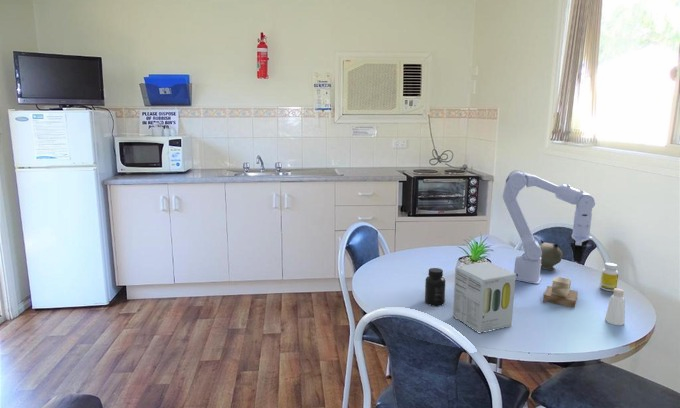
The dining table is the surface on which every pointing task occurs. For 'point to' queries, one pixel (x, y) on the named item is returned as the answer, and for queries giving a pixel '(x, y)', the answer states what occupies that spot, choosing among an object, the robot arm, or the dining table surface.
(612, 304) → the salt shaker
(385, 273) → the dining table surface
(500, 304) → the supplement box
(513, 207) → the robot arm
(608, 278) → the supplement bottle
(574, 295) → the walnut block
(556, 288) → the maple block
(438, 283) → the supplement bottle
